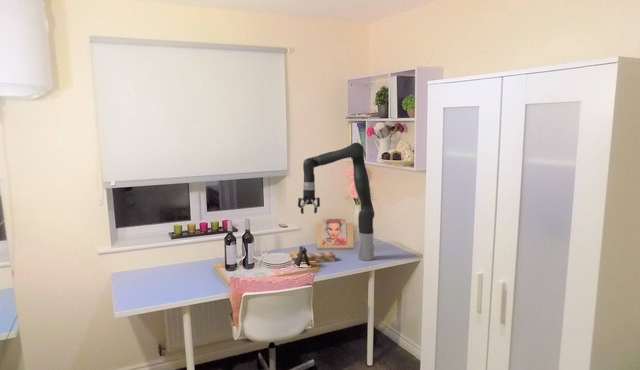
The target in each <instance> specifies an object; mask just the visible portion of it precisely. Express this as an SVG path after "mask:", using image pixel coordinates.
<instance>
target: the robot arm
mask: <svg viewBox="0 0 640 370" xmlns="http://www.w3.org/2000/svg"><path fill="white" fill-rule="evenodd" d="M364 153H365V149H364V146H363V144H362V143H360V142H354V143H352V144H350V145H348V146H346V147H344V148H341V149H337V150H334V151H329V152H328V151H327V152H325V153H321V154H318V155H316V156H312V157H308V158H306V159H304V160H303V163H302V164H303V165H302V167H303V168H302V169H303V188H302V189H303V191H302V193H303V194H302V196H303V197H298V201H297V207H298V208H299V209H300V213H301V214H302V215H303V214H304V209H305V208H304V207H305V206H307V205H312V206H313V207H314V209H313V210H314V211H313V213H314V214H317V212H318V208H319V207H320V206H321V202H320V201H321V200H320V197H316V185H315V179H316V177H315V171H314V170H315V168H317V167H321V166H324V165H325V166H326V165H329V164H332V163H334V162H337V161H342V160H343V159H348V158H351V159H352V164H353V165H352V166H353V182H354V187H355V190H356V194H357V196H358V198H359V203H360V211H359V213H358V218H357V219H358V221H357V222H358V224H357V225H358V254H357V255H358V256H357V257H358V258H357V259H359V260H361V261H371V260H374V259H375V244H374V224H373V223H374V218H375V216H376V215H375V214H376V213H375V209H374V206H373V202H372V198H371V197H372V195H371V188H370V179H369V174H368V171H367V168H366V163H365V154H364ZM315 201H316V203H315Z"/></svg>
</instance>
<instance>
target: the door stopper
mask: <svg viewBox="0 0 640 370" xmlns="http://www.w3.org/2000/svg"><path fill="white" fill-rule="evenodd" d="M298 249H299V252H298V253H297V254H298V256H297V259H296V262H295V264H296V265H297V266H300V264H301V260H302V257H303V255H304V258H305V262H306V263H305V264H307V265H308V266H310V265H311V263H310V262H309V259H308V256H307V248H306V247H305V246H304V245H300V246H299V248H298ZM295 264H294V265H295Z"/></svg>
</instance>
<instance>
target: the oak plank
mask: <svg viewBox="0 0 640 370" xmlns="http://www.w3.org/2000/svg"><path fill="white" fill-rule="evenodd" d="M306 253H307V252H306ZM298 254H299V253H292V254H290V253H289V255H290V257H291V258H292V260H293V261H294V262H296V259H297V256H298ZM307 256H308V259H309V261H316V262H317V263H329V262H330V263H332V262H336V254H335V253H333V252H332V251H327V252H326V251H324V252H323V251H322V252H309V253H307ZM301 262H305V258H304V255H303V257H302V260H301Z"/></svg>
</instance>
